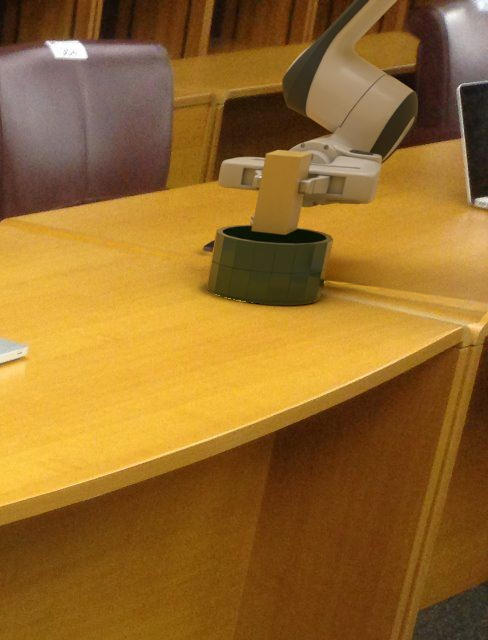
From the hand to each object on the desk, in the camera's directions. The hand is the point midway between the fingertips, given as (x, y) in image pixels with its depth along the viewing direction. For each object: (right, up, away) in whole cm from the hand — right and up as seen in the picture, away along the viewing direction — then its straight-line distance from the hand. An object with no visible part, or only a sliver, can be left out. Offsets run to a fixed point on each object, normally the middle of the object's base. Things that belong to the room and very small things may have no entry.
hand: (281, 185), depth 204 cm
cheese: (+1, -5, +3) cm, 6 cm away
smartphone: (+10, -1, +30) cm, 32 cm away
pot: (+1, -13, +7) cm, 15 cm away
